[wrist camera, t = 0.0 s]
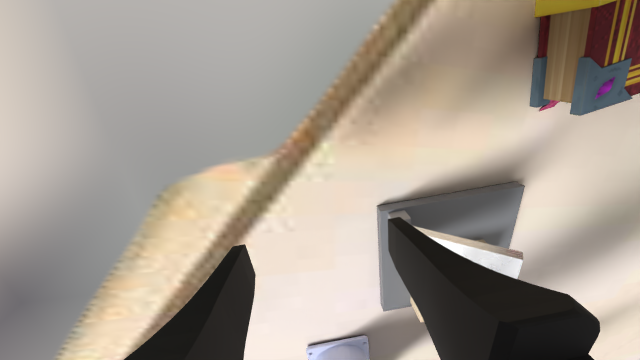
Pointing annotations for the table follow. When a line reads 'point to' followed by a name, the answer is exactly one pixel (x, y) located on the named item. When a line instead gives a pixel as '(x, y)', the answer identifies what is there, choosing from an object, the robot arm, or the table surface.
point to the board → (447, 227)
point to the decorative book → (586, 54)
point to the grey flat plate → (481, 252)
